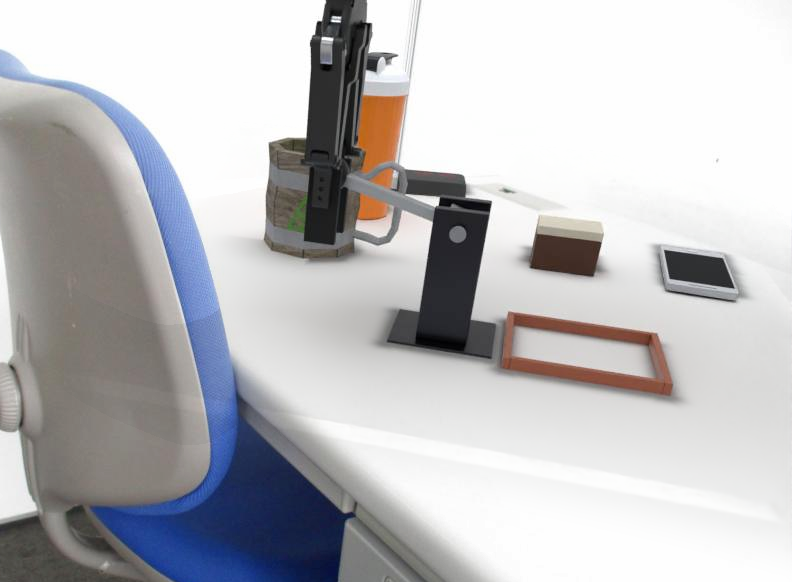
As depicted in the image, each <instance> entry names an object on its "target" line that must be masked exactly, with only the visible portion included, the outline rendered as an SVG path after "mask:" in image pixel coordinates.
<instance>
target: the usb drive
mask: <svg viewBox="0 0 792 582" xmlns="http://www.w3.org/2000/svg"><path fill="white" fill-rule="evenodd" d="M405 173H406V178H407V183H408V185H407V189H406V193H405V194H410V195H418V196H419V195H420V196H432V197H440V196H441V195H448V196H457V197H465V198H466V195H467V182H466V176H464V174H461V173H455V172H453V173H452V172H444V171H443V172H442V171H429V170H420V169H419V170H417V169H409V168H405ZM399 186H400V181H399V172H397V171H394V172H393V178H392V184H391V190H395V191H396V192H398V189H399Z"/></svg>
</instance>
